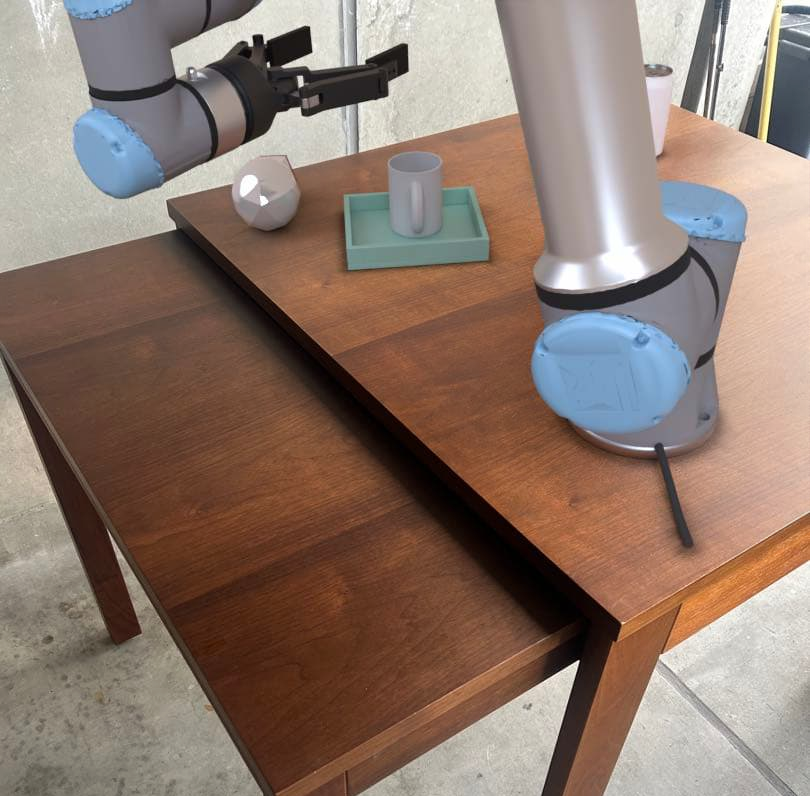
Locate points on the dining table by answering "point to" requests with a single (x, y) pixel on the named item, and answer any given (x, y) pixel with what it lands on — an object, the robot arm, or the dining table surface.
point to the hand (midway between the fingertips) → (356, 47)
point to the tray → (384, 248)
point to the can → (659, 100)
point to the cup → (415, 194)
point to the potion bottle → (266, 192)
